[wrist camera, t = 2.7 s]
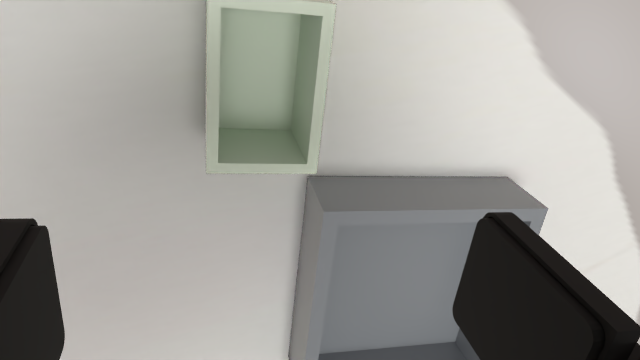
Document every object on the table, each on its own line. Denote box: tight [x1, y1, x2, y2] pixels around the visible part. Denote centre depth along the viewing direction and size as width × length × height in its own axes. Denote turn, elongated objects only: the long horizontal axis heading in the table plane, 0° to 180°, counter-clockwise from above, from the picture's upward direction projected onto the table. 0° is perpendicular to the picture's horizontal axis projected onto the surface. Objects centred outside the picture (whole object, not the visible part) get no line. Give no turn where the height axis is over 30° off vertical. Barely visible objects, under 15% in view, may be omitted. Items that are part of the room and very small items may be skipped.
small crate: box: [205, 0, 336, 174], centre depth 27 cm, size 9×6×6 cm, turn 174°
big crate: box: [288, 176, 548, 360], centre depth 37 cm, size 17×16×5 cm
